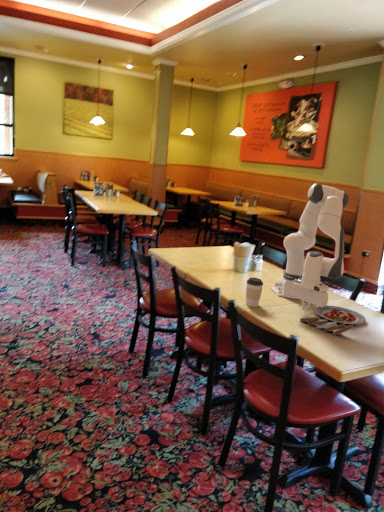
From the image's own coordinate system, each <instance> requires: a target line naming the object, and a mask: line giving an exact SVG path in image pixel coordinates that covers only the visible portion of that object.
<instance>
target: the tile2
mask: <svg viewBox="0 0 384 512" xmlns="http://www.w3.org/2000/svg"><path fill="white" fill-rule="evenodd" d="M326 323H329V321H328V319H320V320H317V321H314V322H307V324H308V326H316V325H323V324H326Z"/></svg>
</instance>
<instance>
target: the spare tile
mask: <svg viewBox="0 0 384 512" xmlns="http://www.w3.org/2000/svg"><path fill="white" fill-rule="evenodd" d="M315 326H316V329H326V328H330V327H334V326H337V322H334V321H331V322H328V323H326V324H323V325H315Z"/></svg>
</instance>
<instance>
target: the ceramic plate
mask: <svg viewBox="0 0 384 512" xmlns="http://www.w3.org/2000/svg"><path fill="white" fill-rule="evenodd" d="M314 312H315V313H316V314H317V315H318V316H319V317H322V318H324V319H325V320H329V321H331V322H336V323H339V324H345V325H346V324H347V325H361V324H363V323H365V322H366V317H365V316H364V315H363V314H361V313H360V312H358V311H355V310H352V309H349V308H345V307H343V306H337V305H326V306H325V307H320V306H317V307H315V309H314Z"/></svg>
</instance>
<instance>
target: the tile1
mask: <svg viewBox="0 0 384 512" xmlns="http://www.w3.org/2000/svg"><path fill="white" fill-rule="evenodd" d="M317 320H321V319H320V316H304V317H300V318H299V321H300V323H301V322H304V323H305V322H307V323H308V322H314V321H317Z"/></svg>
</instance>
